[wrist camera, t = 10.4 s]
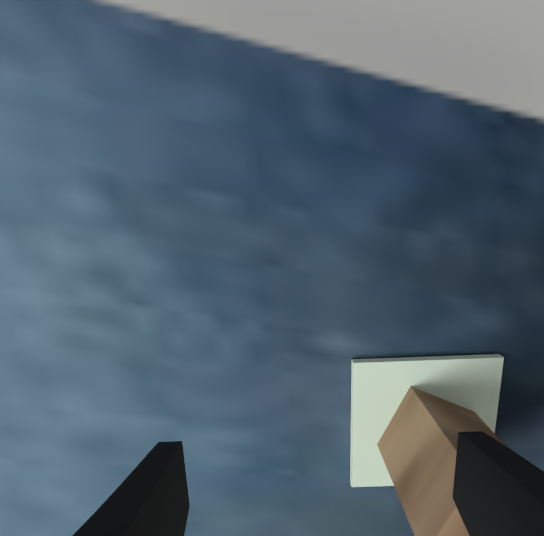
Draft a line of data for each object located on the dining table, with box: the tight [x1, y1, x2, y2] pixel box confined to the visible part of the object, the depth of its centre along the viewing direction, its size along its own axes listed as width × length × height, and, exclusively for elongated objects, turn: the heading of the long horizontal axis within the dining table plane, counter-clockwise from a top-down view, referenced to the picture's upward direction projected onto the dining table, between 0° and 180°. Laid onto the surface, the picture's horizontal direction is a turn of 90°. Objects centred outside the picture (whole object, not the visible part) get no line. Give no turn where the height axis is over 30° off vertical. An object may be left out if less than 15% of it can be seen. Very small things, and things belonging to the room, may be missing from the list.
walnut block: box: [377, 386, 506, 536], centre depth 16 cm, size 4×4×6 cm
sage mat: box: [350, 354, 504, 487], centre depth 19 cm, size 8×8×1 cm
